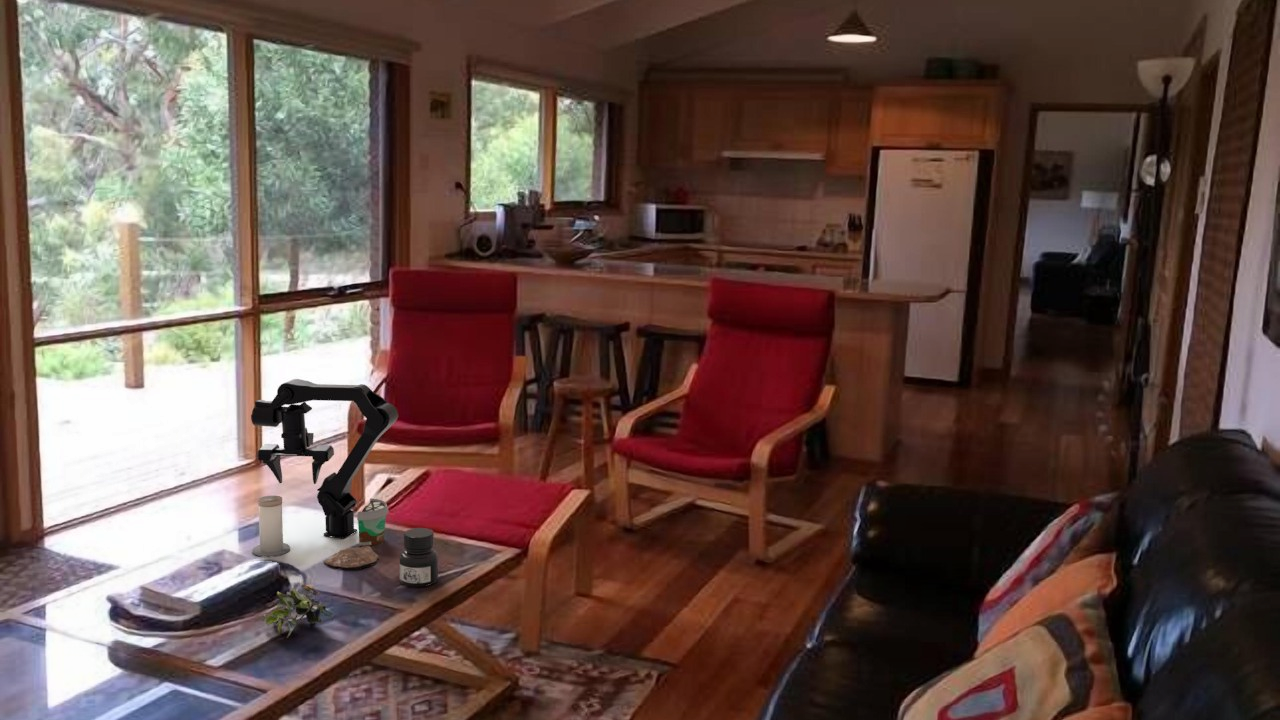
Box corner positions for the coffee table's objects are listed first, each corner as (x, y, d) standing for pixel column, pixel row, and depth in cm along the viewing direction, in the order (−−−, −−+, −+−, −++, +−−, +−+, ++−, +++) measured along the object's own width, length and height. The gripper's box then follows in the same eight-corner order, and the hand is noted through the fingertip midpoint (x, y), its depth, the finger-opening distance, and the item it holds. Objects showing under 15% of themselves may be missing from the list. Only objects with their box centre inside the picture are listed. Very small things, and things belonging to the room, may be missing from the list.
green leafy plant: (311, 647, 221) (344, 605, 220) (284, 661, 210) (318, 616, 209) (274, 612, 223) (306, 570, 221) (245, 624, 212) (279, 579, 211)
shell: (389, 561, 257) (389, 547, 257) (348, 576, 247) (347, 561, 247) (360, 550, 264) (360, 537, 263) (318, 564, 254) (317, 550, 253)
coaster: (297, 547, 264) (297, 545, 264) (275, 558, 255) (275, 557, 255) (267, 542, 267) (267, 540, 266) (244, 554, 258) (244, 552, 258)
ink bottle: (390, 584, 242) (390, 535, 240) (412, 571, 250) (411, 523, 248) (426, 591, 239) (426, 541, 237) (446, 578, 247) (446, 530, 245)
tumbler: (288, 546, 263) (286, 497, 261) (274, 553, 257) (272, 503, 255) (269, 543, 264) (267, 494, 262) (254, 550, 259) (253, 500, 257)
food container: (381, 551, 263) (381, 513, 261) (357, 550, 263) (357, 512, 261) (394, 534, 275) (393, 498, 273) (371, 533, 275) (370, 497, 273)
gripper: (338, 418, 279) (341, 472, 283) (269, 417, 279) (274, 471, 283) (325, 432, 268) (329, 488, 272) (254, 430, 269) (258, 486, 273)
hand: (298, 483), depth 275 cm, fingers open, 9 cm apart
